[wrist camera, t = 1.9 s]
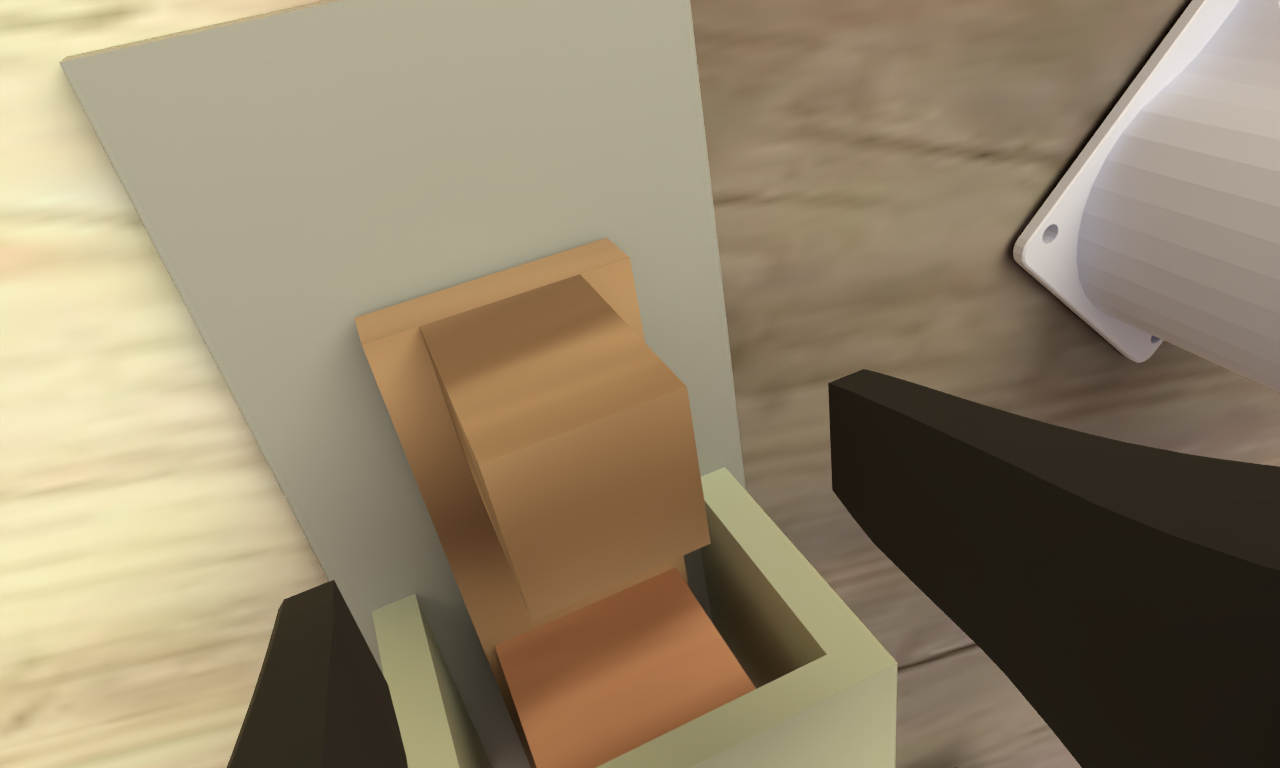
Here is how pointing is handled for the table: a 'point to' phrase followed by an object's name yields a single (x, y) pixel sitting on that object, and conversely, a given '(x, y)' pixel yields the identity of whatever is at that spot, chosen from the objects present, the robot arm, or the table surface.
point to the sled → (561, 498)
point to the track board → (412, 233)
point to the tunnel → (754, 632)
